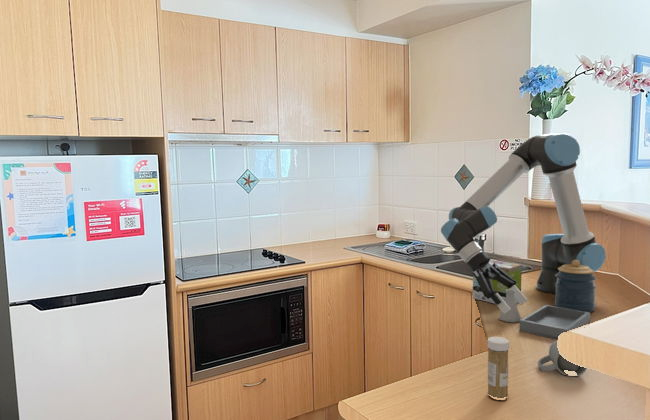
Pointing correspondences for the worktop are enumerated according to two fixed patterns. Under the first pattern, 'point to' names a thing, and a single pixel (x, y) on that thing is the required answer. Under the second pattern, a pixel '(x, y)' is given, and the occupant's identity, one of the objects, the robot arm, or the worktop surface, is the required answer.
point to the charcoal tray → (553, 321)
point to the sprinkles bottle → (498, 366)
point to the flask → (513, 312)
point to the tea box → (499, 288)
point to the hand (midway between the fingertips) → (516, 307)
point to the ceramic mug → (558, 362)
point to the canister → (575, 287)
